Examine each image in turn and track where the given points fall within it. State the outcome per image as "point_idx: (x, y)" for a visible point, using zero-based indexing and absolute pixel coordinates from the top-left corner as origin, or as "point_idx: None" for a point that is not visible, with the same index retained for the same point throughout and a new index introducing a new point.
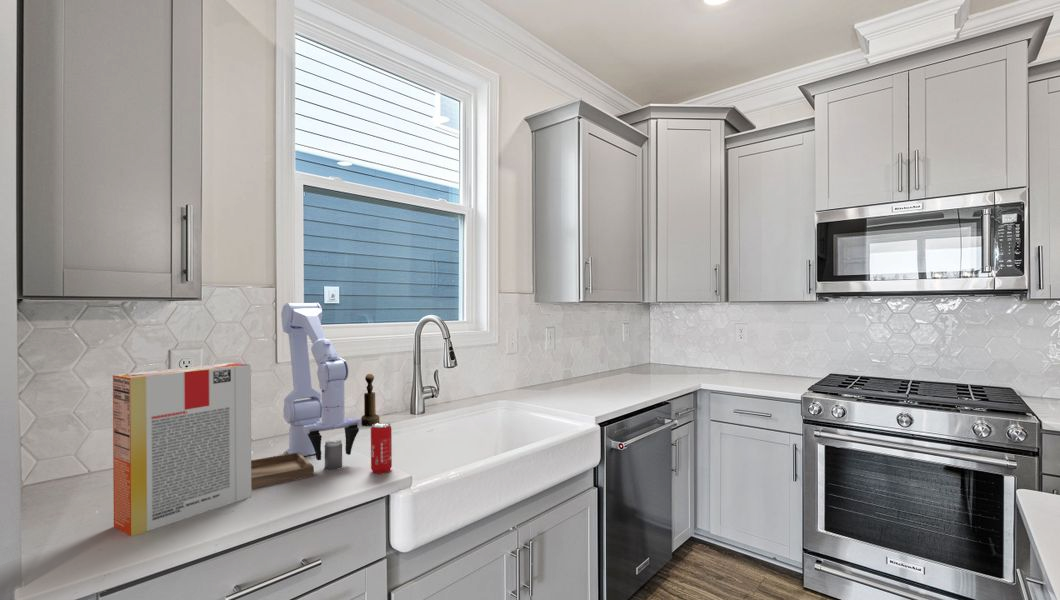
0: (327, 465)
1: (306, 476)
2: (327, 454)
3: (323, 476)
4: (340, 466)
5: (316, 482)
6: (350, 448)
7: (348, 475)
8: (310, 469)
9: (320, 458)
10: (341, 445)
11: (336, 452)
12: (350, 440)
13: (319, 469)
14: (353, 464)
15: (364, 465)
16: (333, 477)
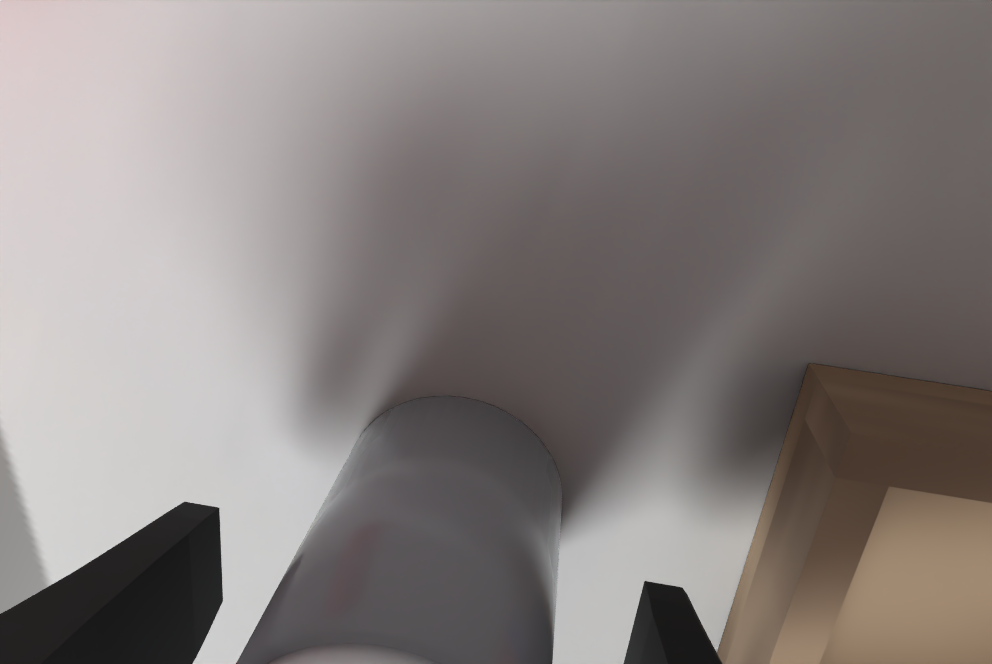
0: (550, 495)
1: (915, 385)
2: (539, 610)
3: (723, 252)
4: (391, 418)
5: (951, 56)
6: (128, 551)
7: (434, 8)
8: (890, 422)
9: (657, 595)
10: (252, 651)
11: (402, 548)
12: (22, 659)
13: (616, 545)
14: (213, 419)
15: (103, 277)
16: (645, 94)
